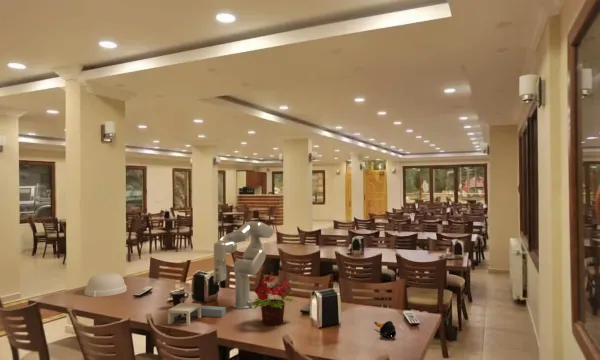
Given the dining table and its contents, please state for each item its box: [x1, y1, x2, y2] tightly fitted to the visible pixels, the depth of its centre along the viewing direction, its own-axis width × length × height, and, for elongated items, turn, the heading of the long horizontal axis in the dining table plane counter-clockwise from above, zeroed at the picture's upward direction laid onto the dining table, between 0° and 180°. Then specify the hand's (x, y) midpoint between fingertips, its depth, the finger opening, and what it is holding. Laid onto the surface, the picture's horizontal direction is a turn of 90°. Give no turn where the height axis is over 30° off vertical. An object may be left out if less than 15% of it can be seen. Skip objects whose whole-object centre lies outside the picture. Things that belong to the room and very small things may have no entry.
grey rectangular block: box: [190, 305, 227, 318], centre depth 275 cm, size 24×6×4 cm, turn 77°
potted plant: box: [252, 271, 297, 327], centre depth 256 cm, size 30×27×30 cm
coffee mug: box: [171, 290, 189, 307], centre depth 292 cm, size 12×9×10 cm
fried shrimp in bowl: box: [373, 320, 397, 339], centre depth 237 cm, size 9×11×18 cm
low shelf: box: [167, 302, 202, 326], centre depth 263 cm, size 14×16×8 cm
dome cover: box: [84, 272, 128, 298], centre depth 338 cm, size 32×30×14 cm
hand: (219, 289), depth 273 cm, fingers open, 9 cm apart
